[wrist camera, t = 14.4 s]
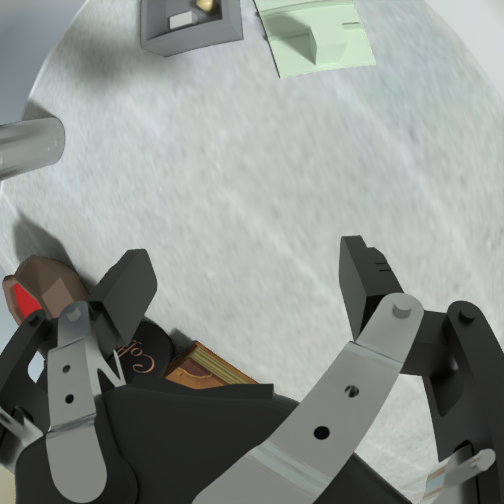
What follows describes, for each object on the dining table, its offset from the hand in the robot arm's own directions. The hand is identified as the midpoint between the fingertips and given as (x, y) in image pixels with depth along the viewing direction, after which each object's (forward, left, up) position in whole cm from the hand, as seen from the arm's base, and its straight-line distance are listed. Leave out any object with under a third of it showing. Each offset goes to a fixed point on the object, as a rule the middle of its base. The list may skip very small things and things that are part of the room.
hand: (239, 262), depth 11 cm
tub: (-9, +26, -24) cm, 37 cm away
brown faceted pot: (-49, -20, -25) cm, 58 cm away
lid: (+5, +21, -25) cm, 33 cm away
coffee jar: (-27, -30, -25) cm, 48 cm away
